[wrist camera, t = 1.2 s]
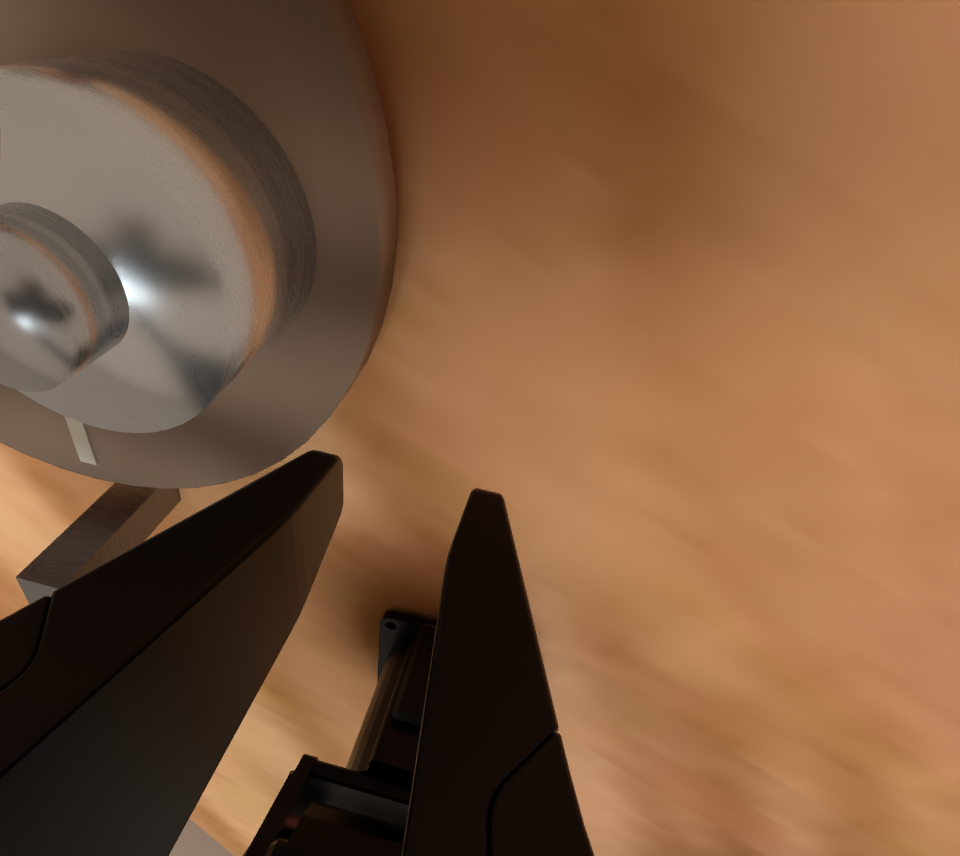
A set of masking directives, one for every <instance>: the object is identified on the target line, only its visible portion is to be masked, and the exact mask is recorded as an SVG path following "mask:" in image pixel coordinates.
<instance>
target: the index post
mask: <svg viewBox="0 0 960 856" xmlns="http://www.w3.org/2000/svg"><path fill="white" fill-rule="evenodd" d="M179 502H180V497H179V492H178V488H166V489H163V488H152V487H141V486H131V485H126V484H120V483H115V484H114V485H112V486H111V487H110V488H109V489H108V490H107V491H106V492H105V493H104V494H103V495H102V496H101V497H100V498H99V499H98V500H97V501H96V502H95V503H93V504H92V505H91V506H90V507H89V508H88V509H87V510H86V511H85V512H84V513H83V514H82V515H81V516H80V517H79V518H78V519H77V520H76V521H75V522H73V523H72V524H71V525H70V526H69V527H68V528H67V529H66V530H65V531H64V532H63V533H62V534H61V535H60V536H59V537H58V538H57V539H56V540H54V541H53V542H52V543H51V544H50V545H49V546H48V547H47V548H46V549H45V550H44V551H43V552H42V553H41V554H40V555H39V556H38V557H37V558H35V559H34V560H33V561H32V562H31V563H30V564H29V565H28V566H27V567H26V568H25V569H24V570H23V571H22V572H21V573H20V574H19V575H18V576H17V577H16V579H17V581H18V583H19V585H20V587H21V588H22V590H23V592H24V594H25V596H26V598H27V600H28V602H29V604H31V603H33V602H35V601H36V600H38V599H40V598H42V597H44V596H50V597H51V596H52V593H53V592H54V591H55V590H57V589H59V588H61V587H62V586H64V585H66V584H68V583H70V582H72V581H73V580H75V579H77V578H79V577H81V576H82V575H84V574H86V573H88V572H90V571H92V570H93V569H95V568H97V567H99V566H101V565H102V564H104V563H106V562H108V561H110V560H112V559H113V558H115V557H117V556H119V555H121V554H122V553H124V552H126V551H128V550H130V549H132V548H133V547H135V546H137V545H139V544H141V543H142V542H144V541H145V540H146V539H147V537H148V536H149V535H150V534H151V533H152V532H153V531H154V530H155V528H156V527H157V526H158V525H159V524H160V523H161V522H162V521H163V519H164V518H165V517H166V516H167V515H168V514H169V513H170V512H171V510H172V509H173V508H174V507H175V506H176V505H177V504H178V503H179Z"/></svg>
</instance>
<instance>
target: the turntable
mask: <svg viewBox="0 0 960 856" xmlns="http://www.w3.org/2000/svg"><path fill="white" fill-rule="evenodd" d="M127 50H133V51H143V52H151V53H155V54H159V55H163V56H167V57H171V58H173V59H176V60H178V61H181V62H183V63H186V64H188V65H191V66H193V67H194V68H196V69H198V70H200V71H201V72H203V73H205V74H207V75H209V76H210V77H212V78H213V79H215V80H216V81H218V82H219V83H220V84H222V85H223V86H225V87H226V88H227V89H229V90H230V91H231V92H233V93H234V94H235V95H236V96H237V97H238V98H239V99H240V100H241V101H243V102H244V103H245V104H246V105H247V106H248V107H249V108H250V109H251V110H252V111H253V112H254V113H255V114H256V115H257V117H258V118H259V119H260V120H261V121H262V122H263V123H264V124H265V125H266V127H267V128H268V129H269V131H270V132H271V133H272V135H273V136H274V137H275V139H276V140H277V141H278V143H279V144H280V146H281V147H282V149H283V150H284V152H285V154H286V155H287V157H288V159H289V161H290V162H291V164H292V166H293V167H294V170H295V172H296V174H297V176H298V178H299V180H300V183H301V185H302V187H303V189H304V192H305V195H306V198H307V201H308V204H309V207H310V211H311V215H312V220H313V224H314V229H315V238H316V269H315V275H314V281H313V285H312V288H311V291H310V294H309V297H308V299H307V301H306V303H305V305H304V307H303V309H302V311H301V312H300V314H299V315H298V316H297V318H296V319H295V320H294V322H293V323H292V324H291V325H290V326H289V327H288V328H287V329H285V330H284V331H283V332H282V333H281V334H280V335H279V336H278V337H277V338H276V339H275V340H274V341H273V342H272V343H271V344H270V345H269V346H268V347H267V348H266V349H265V350H264V351H263V352H262V353H261V354H260V355H259V356H258V357H257V358H256V359H255V360H254V361H253V362H252V363H251V364H250V365H248V366H247V367H246V368H245V369H244V370H243V371H242V372H241V373H240V374H239V375H238V376H237V377H236V378H235V379H234V380H233V381H232V382H231V383H230V384H229V385H228V386H227V387H226V388H225V389H224V390H223V391H222V392H221V393H220V394H219V395H218V396H217V397H216V398H215V399H214V400H213V401H212V402H210V403H209V404H208V405H207V406H206V407H205V408H204V409H203V410H202V411H201V412H200V413H199V414H198V415H197V416H195V417H194V418H192V419H190V420H189V421H187V422H185V423H184V424H181V425H179V426H176V427H174V428H171V429H167V430H163V431H158V432H150V433H127V432H117V431H112V430H106V429H101V428H98V427H94V426H91V425H87V424H84V423H81V422H78V421H76V420H73V419H71V418H68V417H65V416H63V415H61V414H59V413H57V412H55V411H53V410H51V409H48V408H46V407H44V406H42V405H41V404H39V403H37V402H36V401H34V400H32V399H30V398H29V397H27V396H25V395H24V394H22V393H21V392H19V391H18V390H16V389H13V388H10V387H7V386H4V385H2V384H0V442H1V443H3V444H5V445H7V446H9V447H11V448H13V449H15V450H17V451H20V452H22V453H24V454H26V455H28V456H31V457H33V458H36V459H39V460H41V461H44V462H46V463H49V464H52V465H54V466H57V467H59V468H62V469H65V470H69V471H72V472H75V473H79V474H82V475H86V476H89V477H92V478H96V479H100V480H105V481H110V482H115V483H120V484H126V485H131V486H141V487H152V488H163V489H166V488H197V487H204V486H210V485H217V484H223V483H228V482H231V481H234V480H237V479H240V478H244V477H247V476H250V475H253V474H256V473H258V472H260V471H262V470H264V469H266V468H268V467H270V466H272V465H274V464H276V463H278V462H280V461H282V460H283V459H284V458H286V457H287V456H288V455H290V454H291V453H292V452H294V451H295V450H296V449H298V448H299V447H300V446H302V445H303V444H304V443H306V442H307V441H308V440H309V439H310V438H311V437H312V435H313V434H314V433H315V432H316V431H317V430H318V429H319V428H320V427H321V426H322V425H323V424H324V422H325V421H326V420H327V419H328V418H329V417H330V415H331V414H332V413H333V411H334V410H335V408H336V407H337V406H338V404H339V403H340V401H341V400H342V399H343V397H344V396H345V394H346V393H347V392H348V390H349V389H350V387H351V386H352V384H353V382H354V381H355V379H356V378H357V376H358V375H359V373H360V372H361V370H362V368H363V367H364V365H365V364H366V362H367V360H368V358H369V355H370V353H371V351H372V348H373V346H374V344H375V341H376V339H377V337H378V334H379V332H380V329H381V327H382V323H383V319H384V315H385V311H386V308H387V304H388V300H389V296H390V292H391V288H392V281H393V271H394V262H395V252H396V243H397V221H396V184H395V177H394V170H393V163H392V156H391V149H390V142H389V135H388V128H387V123H386V120H385V116H384V112H383V108H382V104H381V100H380V96H379V92H378V88H377V85H376V81H375V77H374V73H373V69H372V65H371V61H370V58H369V56H368V53H367V50H366V48H365V45H364V42H363V39H362V37H361V34H360V31H359V29H358V26H357V23H356V21H355V18H354V15H353V13H352V10H351V7H350V4H349V2H348V0H0V65H6V64H14V63H23V62H31V61H39V60H47V59H56V58H64V57H72V56H81V55H89V54H97V53H105V52H115V51H127Z"/></svg>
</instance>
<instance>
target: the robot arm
mask: <svg viewBox="0 0 960 856" xmlns="http://www.w3.org/2000/svg"><path fill="white" fill-rule="evenodd" d="M342 507H343V463H342V460H341V458H340V457H339V456H337V455H334V454H329V453H325V452H321V451H316V450H312V451H308V452H306V453H304V454H303V455H301V456H299V457H297V458H295V459H293V460H292V461H290V462H288V463H286V464H284V465H283V466H281V467H279V468H277V469H275V470H273V471H272V472H270V473H268V474H266V475H264V476H263V477H261V478H259V479H257V480H255V481H253V482H252V483H250V484H248V485H246V486H244V487H243V488H241V489H239V490H237V491H235V492H233V493H232V494H230V495H228V496H226V497H224V498H223V499H221V500H219V501H217V502H215V503H213V504H212V505H210V506H208V507H206V508H204V509H203V510H201V511H199V512H197V513H195V514H193V515H192V516H190V517H188V518H186V519H184V520H182V521H181V522H179V523H177V524H175V525H173V526H172V527H170V528H168V529H166V530H164V531H162V532H161V533H159V534H157V535H155V536H153V537H152V538H150V539H148V540H146V541H144V542H142V543H141V544H139V545H137V546H135V547H133V548H132V549H130V550H128V551H126V552H124V553H122V554H121V555H119V556H117V557H115V558H113V559H112V560H110V561H108V562H106V563H104V564H102V565H101V566H99V567H97V568H95V569H93V570H92V571H90V572H88V573H86V574H84V575H82V576H81V577H79V578H77V579H75V580H73V581H72V582H70V583H68V584H66V585H64V586H62V587H61V588H59V589H57V590H55V591H54V592H53V593H52V596H51V597H50V596H44V597H42V598H40V599H38V600H36V601H35V602H33V603H31V604H29V605H27V606H26V607H24V608H22V609H20V610H18V611H16V612H15V613H13V614H11V615H9V616H7V617H5V618H3V619H2V620H0V856H169V854H170V852H171V850H172V848H173V846H174V845H175V843H176V841H177V839H178V837H179V836H180V833H181V832H182V830H183V828H184V826H185V825H186V823H187V821H188V819H189V817H190V815H191V814H192V812H193V810H194V808H195V806H196V804H197V803H198V801H199V799H200V797H201V795H202V793H203V792H204V790H205V788H206V786H207V784H208V782H209V781H210V779H211V777H212V775H213V773H214V772H215V770H216V768H217V766H218V764H219V762H220V761H221V759H222V757H223V755H224V753H225V751H226V750H227V748H228V746H229V744H230V742H231V740H232V739H233V737H234V735H235V733H236V731H237V729H238V728H239V726H240V724H241V722H242V720H243V718H244V717H245V715H246V713H247V711H248V709H249V707H250V706H251V704H252V702H253V700H254V698H255V697H256V695H257V693H258V691H259V689H260V687H261V686H262V684H263V682H264V680H265V678H266V676H267V675H268V673H269V671H270V669H271V667H272V665H273V664H274V662H275V660H276V658H277V656H278V654H279V653H280V651H281V649H282V647H283V645H284V643H285V642H286V640H287V638H288V636H289V634H290V632H291V631H292V629H293V627H294V625H295V623H296V621H297V619H298V617H299V615H300V613H301V611H302V608H303V606H304V604H305V601H306V599H307V597H308V594H309V592H310V589H311V587H312V584H313V582H314V579H315V577H316V574H317V572H318V570H319V567H320V565H321V562H322V560H323V557H324V555H325V552H326V550H327V547H328V545H329V542H330V540H331V538H332V535H333V533H334V530H335V528H336V525H337V523H338V520H339V518H340V515H341V511H342ZM557 731H558V722H557V718H556V714H555V710H554V706H553V702H552V697H551V693H550V689H549V685H548V681H547V677H546V672H545V668H544V664H543V660H542V656H541V652H540V647H539V643H538V639H537V635H536V631H535V626H534V622H533V618H532V614H531V610H530V606H529V601H528V597H527V593H526V589H525V585H524V581H523V576H522V572H521V568H520V564H519V560H518V556H517V551H516V547H515V543H514V539H513V535H512V530H511V526H510V522H509V518H508V514H507V510H506V505H505V501H504V498H503V496H502V495H501V494H499V493H495V492H491V491H487V490H483V489H478V488H475V489H473V490H472V491H471V493H470V496H469V498H468V501H467V504H466V506H465V509H464V512H463V514H462V517H461V520H460V522H459V525H458V528H457V531H456V533H455V536H454V539H453V541H452V544H451V547H450V550H449V553H448V556H447V561H446V566H445V572H444V579H443V585H442V592H441V599H440V605H439V612H438V618H437V622H434V621H430V620H426V619H422V618H419V617H415V616H411V615H407V614H403V613H399V612H395V611H386V612H385V613H384V614H383V616H382V619H381V621H380V632H379V658H378V683H377V686H376V689H375V691H374V694H373V697H372V699H371V702H370V705H369V707H368V710H367V713H366V716H365V718H364V721H363V724H362V726H361V729H360V732H359V734H358V737H357V740H356V742H355V745H354V748H353V750H352V753H351V756H350V758H349V761H348V764H347V767H346V768H343V767H340V766H336V765H332V764H329V763H325V762H322V761H318V757H314V756H311V755H307V754H304V755H303V757H302V758H301V760H300V762H299V764H298V766H297V768H296V769H295V770H294V771H290V773H289V776H288V778H287V779H286V781H285V783H284V785H283V787H282V789H281V790H280V792H279V794H278V796H277V798H276V799H275V801H274V803H273V805H272V807H271V808H270V810H269V812H268V814H267V816H266V818H265V819H264V821H263V823H262V825H261V827H260V828H259V830H258V832H257V834H256V836H255V837H254V839H253V841H252V843H251V844H250V846H249V847H248V849H247V850H246V851H245V853H244V854H243V856H594V853H593V850H592V847H591V844H590V841H589V838H588V835H587V832H586V829H585V826H584V822H583V819H582V815H581V811H580V808H579V804H578V800H577V797H576V793H575V789H574V786H573V782H572V778H571V775H570V771H569V767H568V763H567V758H566V754H565V750H564V746H563V742H562V738H561V735H560V734H559V733H557Z"/></svg>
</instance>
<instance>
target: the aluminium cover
mask: <svg viewBox="0 0 960 856" xmlns="http://www.w3.org/2000/svg"><path fill="white" fill-rule="evenodd" d="M315 269H316V238H315V229H314V224H313V220H312V215H311V211H310V207H309V204H308V201H307V198H306V195H305V192H304V189H303V187H302V185H301V183H300V180H299V178H298V176H297V174H296V172H295V170H294V167H293V166H292V164H291V162H290V161H289V159H288V157H287V155H286V154H285V152H284V150H283V149H282V147H281V146H280V144H279V143H278V141H277V140H276V139H275V137H274V136H273V135H272V133H271V132H270V131H269V129H268V128H267V127H266V125H265V124H264V123H263V122H262V121H261V120H260V119H259V118H258V117H257V115H256V114H255V113H254V112H253V111H252V110H251V109H250V108H249V107H248V106H247V105H246V104H245V103H244V102H243V101H241V100H240V99H239V98H238V97H237V96H236V95H235V94H234V93H233V92H231V91H230V90H229V89H227V88H226V87H225V86H223V85H222V84H220V83H219V82H218V81H216V80H215V79H213V78H212V77H210V76H209V75H207V74H205V73H203V72H201V71H200V70H198V69H196V68H194V67H193V66H191V65H188V64H186V63H183V62H181V61H178V60H176V59H173V58H171V57H167V56H163V55H159V54H155V53H151V52H143V51H133V50H127V51H115V52H105V53H97V54H89V55H81V56H72V57H64V58H56V59H47V60H39V61H31V62H23V63H14V64H6V65H0V384H2V385H4V386H7V387H10V388H13V389H16V390H18V391H19V392H21V393H22V394H24V395H25V396H27V397H29V398H30V399H32V400H34V401H36V402H37V403H39V404H41V405H42V406H44V407H46V408H48V409H51V410H53V411H55V412H57V413H59V414H61V415H63V416H65V417H68V418H71V419H73V420H76V421H78V422H81V423H84V424H87V425H91V426H94V427H98V428H101V429H106V430H112V431H117V432H127V433H150V432H158V431H163V430H167V429H171V428H174V427H176V426H179V425H181V424H184V423H185V422H187V421H189V420H190V419H192V418H194V417H195V416H197V415H198V414H199V413H200V412H201V411H202V410H203V409H204V408H205V407H206V406H207V405H208V404H209V403H210V402H212V401H213V400H214V399H215V398H216V397H217V396H218V395H219V394H220V393H221V392H222V391H223V390H224V389H225V388H226V387H227V386H228V385H229V384H230V383H231V382H232V381H233V380H234V379H235V378H236V377H237V376H238V375H239V374H240V373H241V372H242V371H243V370H244V369H245V368H246V367H247V366H248V365H250V364H251V363H252V362H253V361H254V360H255V359H256V358H257V357H258V356H259V355H260V354H261V353H262V352H263V351H264V350H265V349H266V348H267V347H268V346H269V345H270V344H271V343H272V342H273V341H274V340H275V339H276V338H277V337H278V336H279V335H280V334H281V333H282V332H283V331H284V330H285V329H287V328H288V327H289V326H290V325H291V324H292V323H293V322H294V320H295V319H296V318H297V316H298V315H299V314H300V312H301V311H302V309H303V307H304V305H305V303H306V301H307V299H308V297H309V294H310V291H311V288H312V285H313V281H314V275H315Z"/></svg>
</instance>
